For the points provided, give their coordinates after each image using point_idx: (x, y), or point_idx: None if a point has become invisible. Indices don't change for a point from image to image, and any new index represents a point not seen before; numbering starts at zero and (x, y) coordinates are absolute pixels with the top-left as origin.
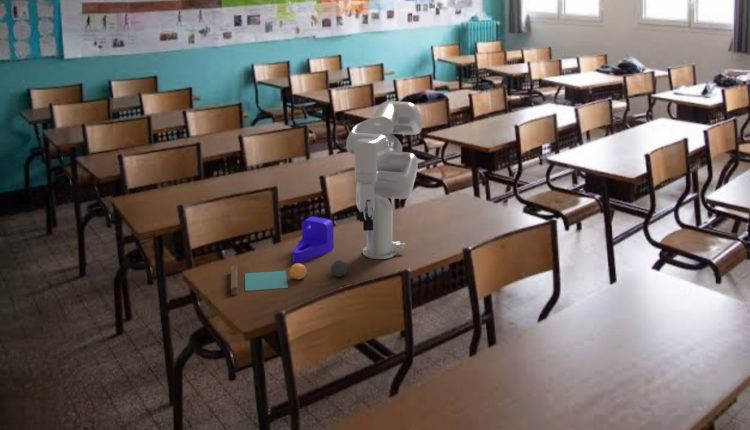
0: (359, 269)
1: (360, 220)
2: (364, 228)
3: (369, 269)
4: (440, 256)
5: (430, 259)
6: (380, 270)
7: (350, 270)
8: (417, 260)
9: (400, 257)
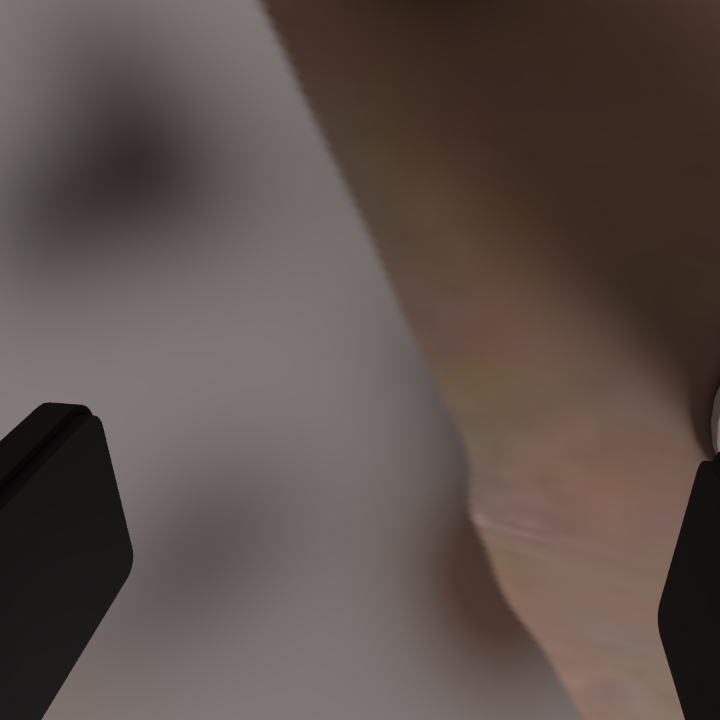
0: (559, 151)
1: (709, 485)
2: (26, 443)
3: (532, 244)
4: (613, 717)
5: (585, 662)
6: (485, 328)
7: (561, 52)
8: (597, 598)
9: None
